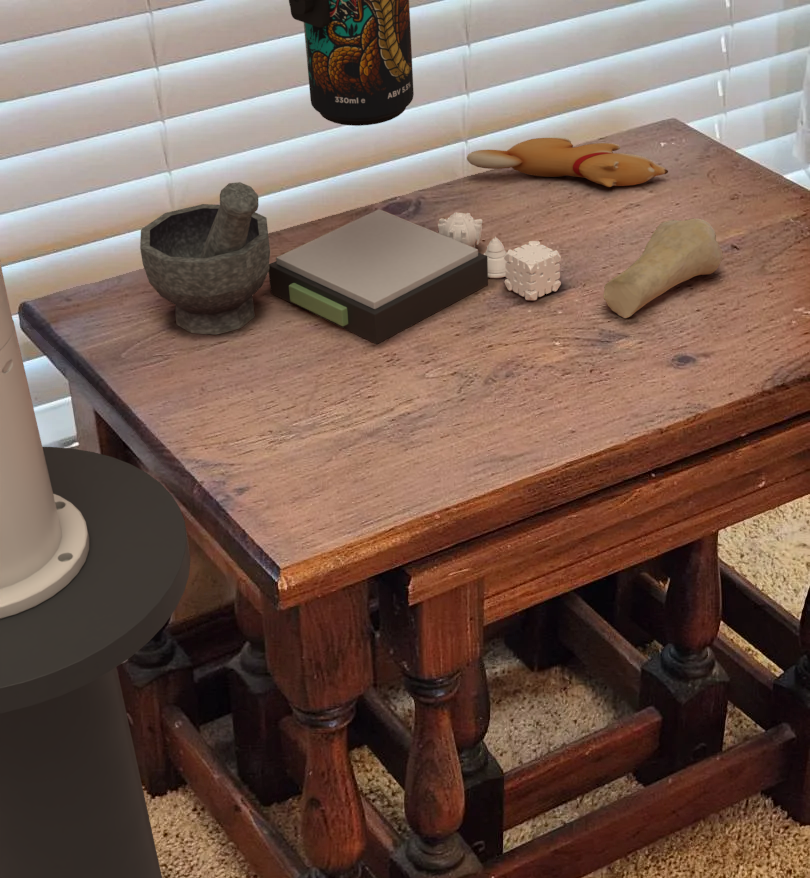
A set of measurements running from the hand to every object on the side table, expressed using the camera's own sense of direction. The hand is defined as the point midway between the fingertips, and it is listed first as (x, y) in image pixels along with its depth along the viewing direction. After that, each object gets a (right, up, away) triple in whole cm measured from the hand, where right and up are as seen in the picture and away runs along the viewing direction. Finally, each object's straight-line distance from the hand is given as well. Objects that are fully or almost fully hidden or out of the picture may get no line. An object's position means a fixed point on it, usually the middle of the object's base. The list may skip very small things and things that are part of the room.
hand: (355, 3), depth 102 cm
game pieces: (+10, -14, +21) cm, 27 cm away
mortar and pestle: (-11, -18, +17) cm, 27 cm away
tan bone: (+22, -16, +17) cm, 32 cm away
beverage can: (0, -6, +4) cm, 7 cm away
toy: (+17, -1, +34) cm, 38 cm away
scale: (+1, -16, +19) cm, 25 cm away
